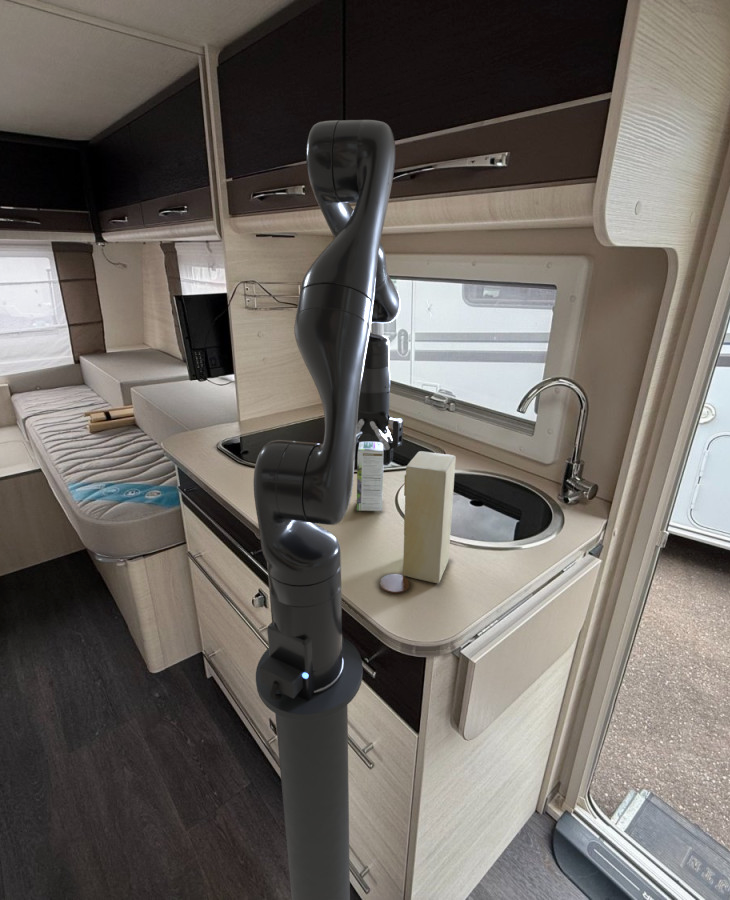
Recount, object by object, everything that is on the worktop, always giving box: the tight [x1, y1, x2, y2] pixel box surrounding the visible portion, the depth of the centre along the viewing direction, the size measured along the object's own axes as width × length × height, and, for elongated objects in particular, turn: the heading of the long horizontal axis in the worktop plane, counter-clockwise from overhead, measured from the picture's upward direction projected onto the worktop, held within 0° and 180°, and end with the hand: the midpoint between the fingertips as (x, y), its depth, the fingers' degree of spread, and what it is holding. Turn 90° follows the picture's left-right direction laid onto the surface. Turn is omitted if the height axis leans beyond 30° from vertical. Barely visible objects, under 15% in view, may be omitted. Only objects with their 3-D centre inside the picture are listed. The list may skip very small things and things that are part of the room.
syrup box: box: [356, 441, 385, 512], centre depth 104 cm, size 6×6×14 cm
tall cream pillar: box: [402, 450, 457, 584], centre depth 81 cm, size 8×7×21 cm
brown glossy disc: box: [379, 573, 410, 595], centre depth 80 cm, size 5×5×1 cm
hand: (371, 460), depth 103 cm, fingers closed on syrup box, 7 cm apart
